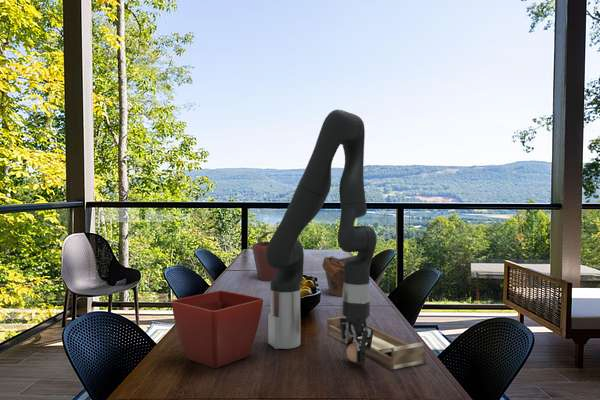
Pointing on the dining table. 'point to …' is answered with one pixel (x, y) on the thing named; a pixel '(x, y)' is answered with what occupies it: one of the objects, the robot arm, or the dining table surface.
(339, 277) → the terracotta flower pot
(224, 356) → the plant pot
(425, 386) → the dining table surface
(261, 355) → the dining table surface
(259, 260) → the bucket
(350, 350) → the ball
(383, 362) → the track
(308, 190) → the robot arm
